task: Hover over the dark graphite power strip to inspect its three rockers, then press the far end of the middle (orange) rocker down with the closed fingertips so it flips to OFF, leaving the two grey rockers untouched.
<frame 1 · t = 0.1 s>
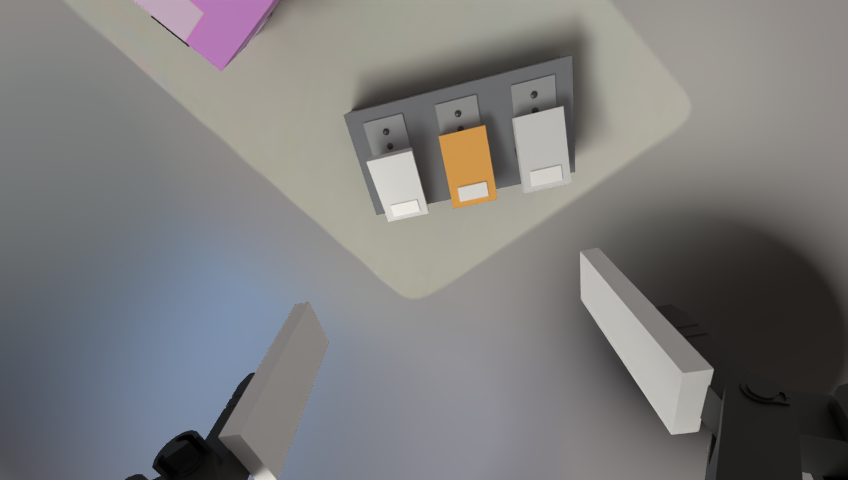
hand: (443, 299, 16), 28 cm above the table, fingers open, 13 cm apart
rocker 2: (468, 168, 36), point 5 cm above the table, hinge at -11.0°
power strip: (460, 138, 39), on the table
rocker 1: (399, 187, 37), point 5 cm above the table, hinge at 11.0°
rocker 3: (542, 151, 35), point 5 cm above the table, hinge at -11.0°
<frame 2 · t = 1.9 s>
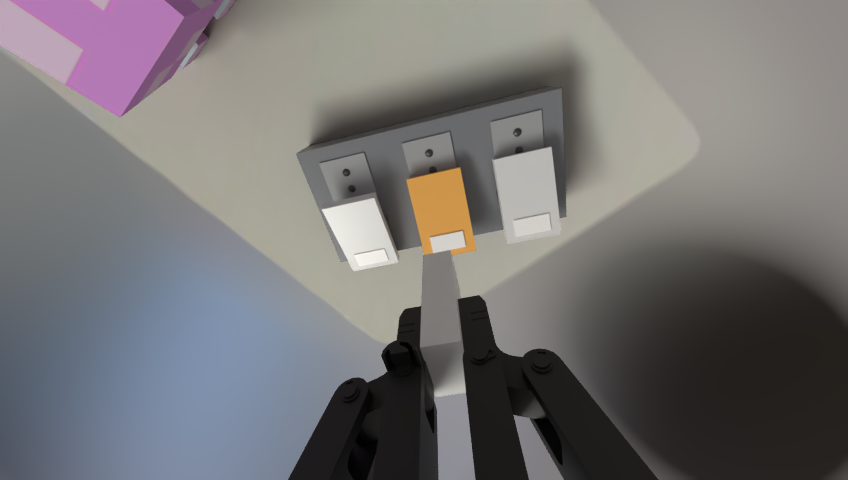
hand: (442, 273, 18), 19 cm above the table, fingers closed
rocker 2: (442, 214, 31), point 5 cm above the table, hinge at -11.0°
power strip: (436, 176, 34), on the table
toy: (196, 9, 28), on the table
rocker 1: (363, 235, 32), point 5 cm above the table, hinge at 11.0°
rocker 3: (527, 197, 30), point 5 cm above the table, hinge at -11.0°
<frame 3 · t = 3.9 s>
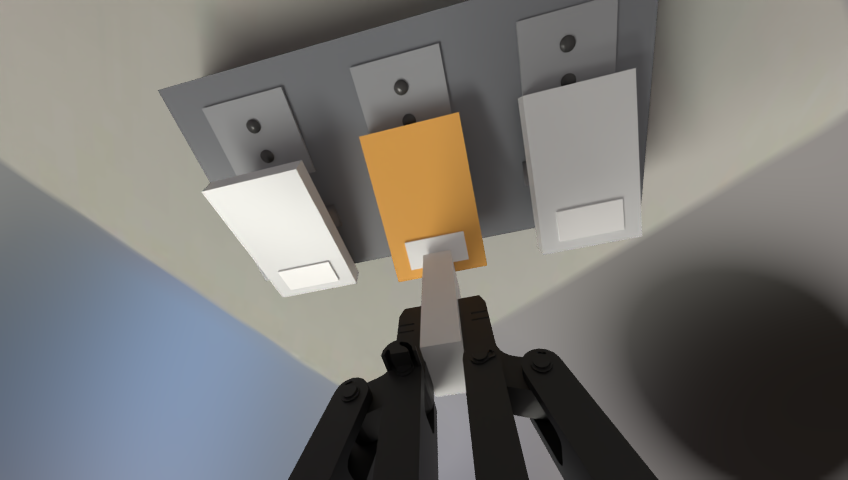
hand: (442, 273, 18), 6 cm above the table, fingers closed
rocker 2: (426, 202, 17), point 5 cm above the table, hinge at -10.7°, touching gripper
power strip: (418, 140, 21), on the table
rocker 1: (290, 238, 18), point 5 cm above the table, hinge at 11.0°
rocker 3: (581, 169, 16), point 5 cm above the table, hinge at -11.0°
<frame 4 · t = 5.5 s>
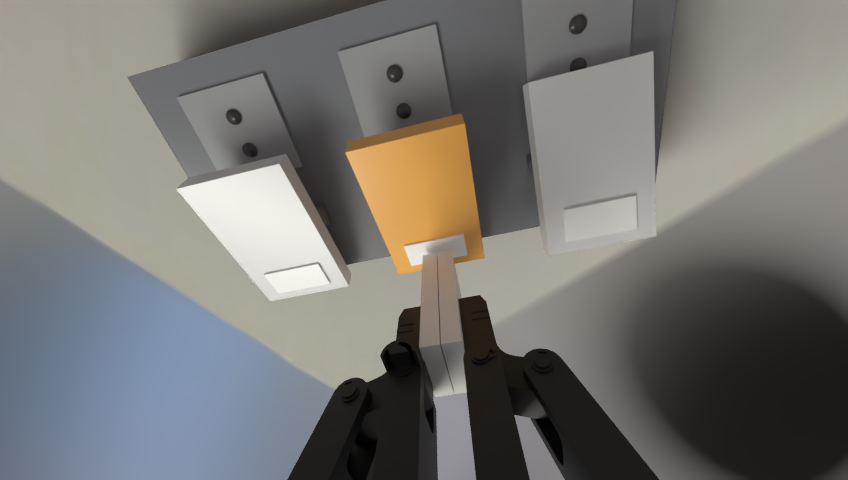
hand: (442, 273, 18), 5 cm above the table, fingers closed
rocker 2: (425, 207, 16), point 5 cm above the table, hinge at 14.8°, touching gripper
power strip: (415, 132, 19), on the table
rocker 1: (276, 238, 17), point 5 cm above the table, hinge at 11.0°
rocker 3: (591, 163, 15), point 5 cm above the table, hinge at -11.0°
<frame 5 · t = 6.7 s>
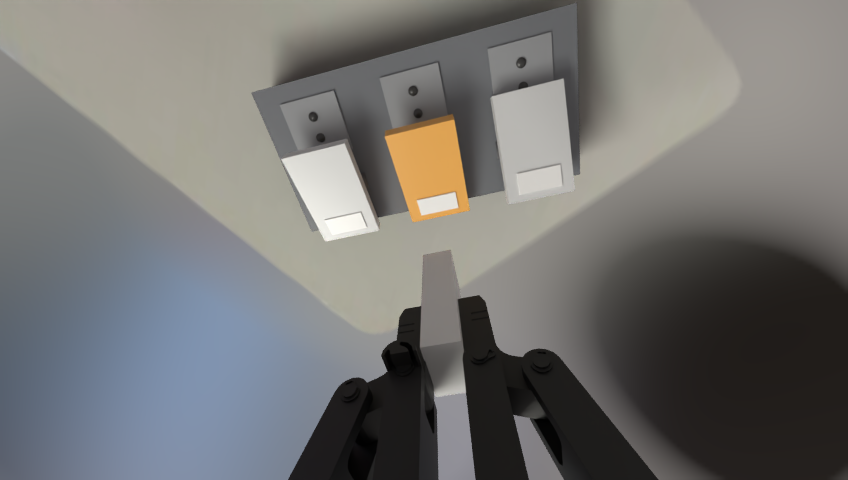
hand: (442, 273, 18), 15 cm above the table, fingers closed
rocker 2: (430, 173, 25), point 5 cm above the table, hinge at 15.0°
power strip: (424, 128, 29), on the table
rocker 1: (335, 194, 26), point 5 cm above the table, hinge at 11.0°
rocker 3: (533, 145, 24), point 5 cm above the table, hinge at -11.0°
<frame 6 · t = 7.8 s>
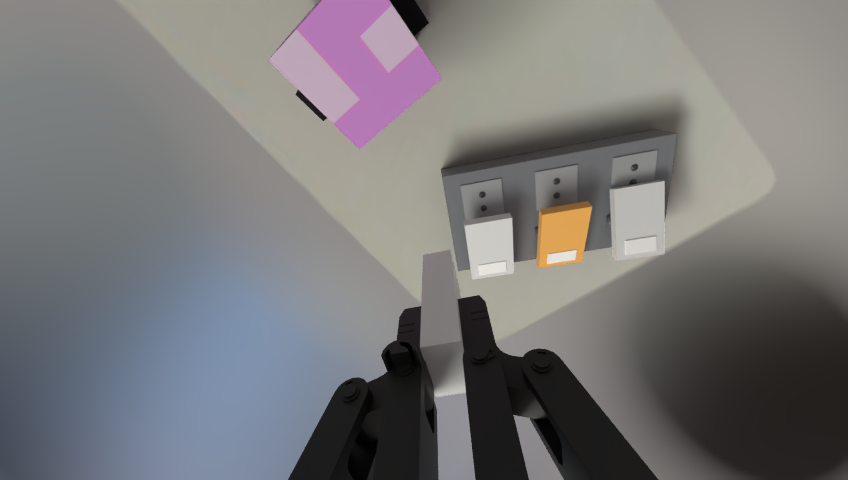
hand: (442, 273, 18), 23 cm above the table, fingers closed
rocker 2: (562, 237, 36), point 5 cm above the table, hinge at 15.0°
power strip: (546, 199, 39), on the table
toy: (371, 54, 33), on the table
rocker 1: (490, 248, 37), point 5 cm above the table, hinge at 11.0°
rocker 3: (637, 221, 35), point 5 cm above the table, hinge at -11.0°
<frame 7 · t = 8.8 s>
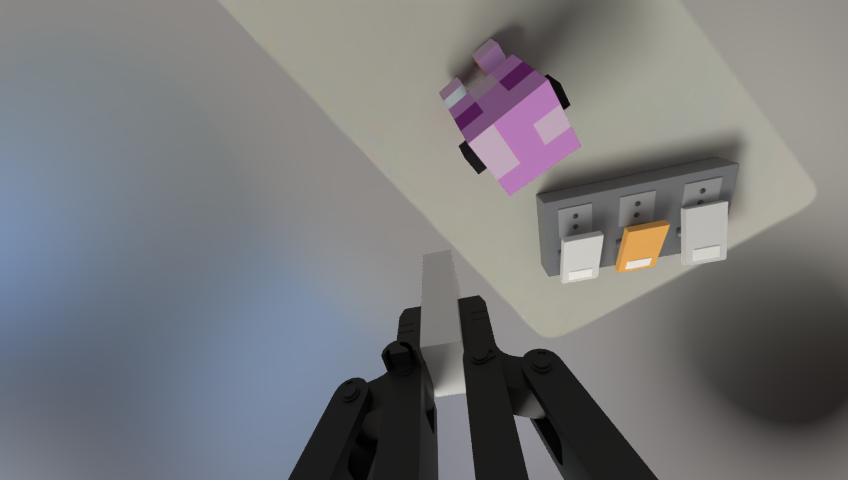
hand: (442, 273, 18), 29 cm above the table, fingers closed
rocker 2: (640, 248, 44), point 5 cm above the table, hinge at 15.0°
power strip: (621, 215, 47), on the table
toy: (488, 108, 41), on the table
rocker 1: (580, 258, 45), point 5 cm above the table, hinge at 11.0°
rocker 3: (704, 233, 43), point 5 cm above the table, hinge at -11.0°
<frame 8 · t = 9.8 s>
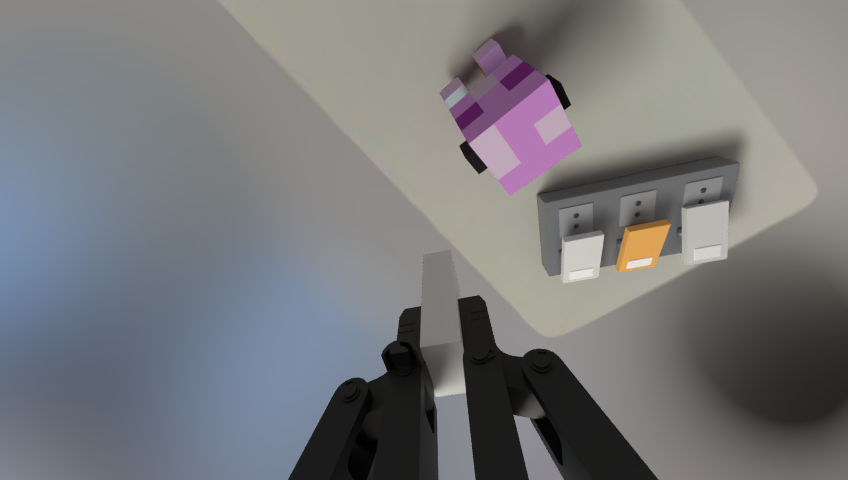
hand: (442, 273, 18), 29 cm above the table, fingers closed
rocker 2: (641, 247, 44), point 5 cm above the table, hinge at 15.0°
power strip: (622, 214, 47), on the table
toy: (489, 108, 41), on the table
rocker 1: (581, 258, 45), point 5 cm above the table, hinge at 11.0°
rocker 3: (704, 233, 43), point 5 cm above the table, hinge at -11.0°
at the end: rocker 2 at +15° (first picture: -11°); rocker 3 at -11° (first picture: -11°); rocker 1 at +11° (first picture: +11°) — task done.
